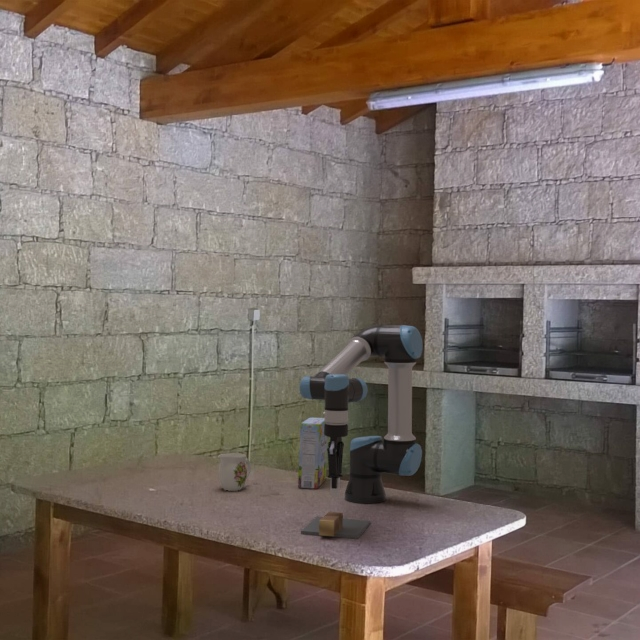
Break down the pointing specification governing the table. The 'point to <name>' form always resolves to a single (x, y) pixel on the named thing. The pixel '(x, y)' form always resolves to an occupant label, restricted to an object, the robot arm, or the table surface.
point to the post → (330, 523)
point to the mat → (349, 529)
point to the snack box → (312, 453)
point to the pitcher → (233, 471)
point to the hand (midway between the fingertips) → (334, 498)
